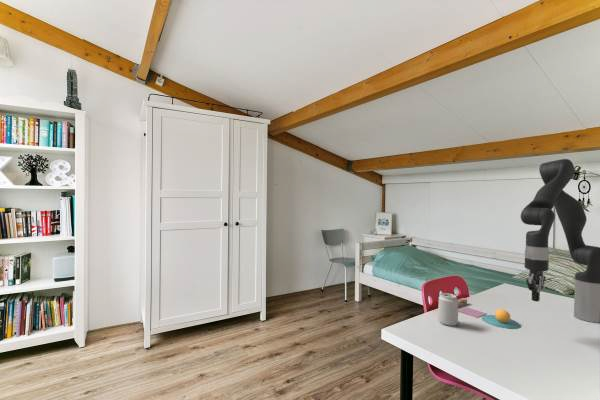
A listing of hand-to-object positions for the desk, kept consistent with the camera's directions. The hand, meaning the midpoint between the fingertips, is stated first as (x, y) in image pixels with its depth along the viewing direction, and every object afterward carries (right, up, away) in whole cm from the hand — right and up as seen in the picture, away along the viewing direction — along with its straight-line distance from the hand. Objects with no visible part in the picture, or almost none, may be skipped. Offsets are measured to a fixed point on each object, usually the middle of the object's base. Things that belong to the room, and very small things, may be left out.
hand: (535, 300), depth 120 cm
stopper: (-19, -12, +27) cm, 35 cm away
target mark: (-7, -13, +10) cm, 18 cm away
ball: (-7, -10, +10) cm, 15 cm away
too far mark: (-14, -12, +20) cm, 27 cm away
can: (-32, -12, +7) cm, 35 cm away
